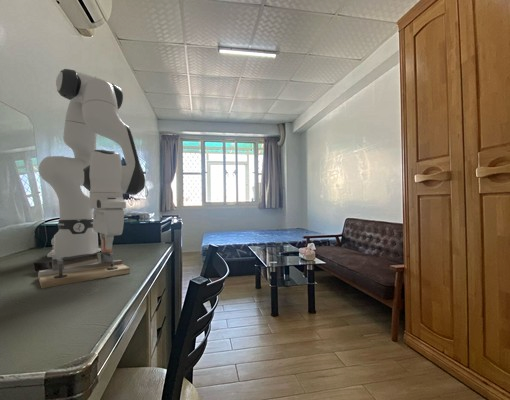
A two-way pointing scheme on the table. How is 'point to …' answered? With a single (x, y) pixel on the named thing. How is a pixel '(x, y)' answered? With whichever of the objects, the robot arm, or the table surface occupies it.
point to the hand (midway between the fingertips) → (106, 248)
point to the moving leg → (106, 254)
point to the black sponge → (68, 261)
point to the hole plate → (78, 272)
